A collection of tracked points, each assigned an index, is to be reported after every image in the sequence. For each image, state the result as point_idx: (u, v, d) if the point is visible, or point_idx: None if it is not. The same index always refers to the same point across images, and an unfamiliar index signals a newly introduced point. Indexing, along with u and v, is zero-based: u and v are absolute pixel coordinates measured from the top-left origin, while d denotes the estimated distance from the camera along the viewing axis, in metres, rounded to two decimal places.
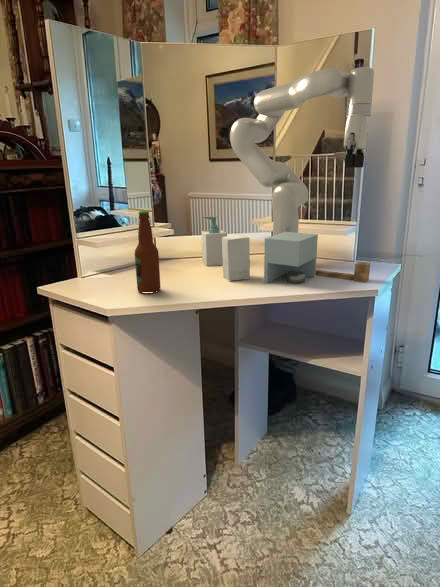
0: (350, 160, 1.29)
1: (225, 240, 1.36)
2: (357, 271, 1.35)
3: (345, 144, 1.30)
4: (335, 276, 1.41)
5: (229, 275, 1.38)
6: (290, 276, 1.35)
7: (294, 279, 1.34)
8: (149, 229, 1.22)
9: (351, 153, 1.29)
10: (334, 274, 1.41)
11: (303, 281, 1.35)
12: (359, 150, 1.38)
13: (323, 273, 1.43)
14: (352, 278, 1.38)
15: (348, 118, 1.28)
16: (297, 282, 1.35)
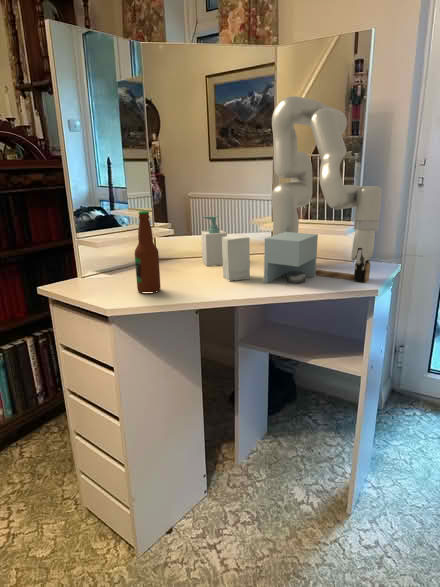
0: (359, 275, 1.34)
1: (225, 240, 1.36)
2: None
3: (353, 257, 1.32)
4: (335, 276, 1.41)
5: (229, 275, 1.38)
6: (290, 276, 1.35)
7: (294, 279, 1.34)
8: (149, 229, 1.22)
9: (361, 270, 1.33)
10: (334, 274, 1.41)
11: (303, 281, 1.35)
12: None
13: (323, 273, 1.43)
14: (352, 278, 1.38)
15: (356, 233, 1.30)
16: (297, 282, 1.35)
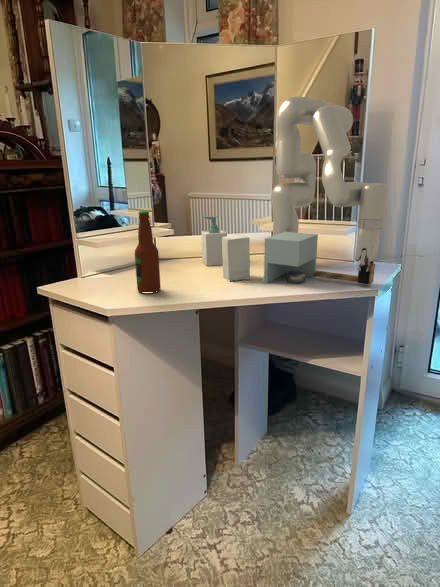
0: (363, 277, 1.27)
1: (225, 240, 1.36)
2: None
3: (357, 258, 1.25)
4: (338, 277, 1.34)
5: (229, 275, 1.38)
6: (290, 276, 1.35)
7: (294, 279, 1.34)
8: (149, 229, 1.22)
9: (365, 271, 1.27)
10: (337, 275, 1.34)
11: (303, 281, 1.35)
12: None
13: (325, 274, 1.36)
14: (356, 280, 1.31)
15: (360, 233, 1.23)
16: (297, 282, 1.35)
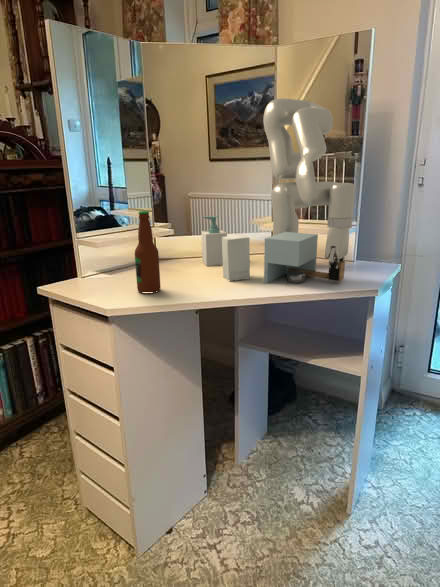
0: (333, 274, 1.31)
1: (225, 240, 1.36)
2: None
3: (326, 255, 1.29)
4: (310, 274, 1.38)
5: (229, 275, 1.38)
6: (290, 276, 1.35)
7: (294, 279, 1.34)
8: (149, 229, 1.22)
9: (334, 268, 1.31)
10: (309, 272, 1.38)
11: (303, 281, 1.35)
12: (339, 260, 1.36)
13: None
14: (327, 277, 1.35)
15: (329, 231, 1.27)
16: (297, 282, 1.35)
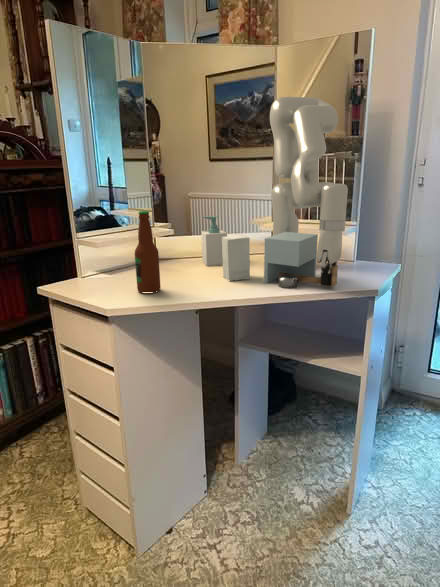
0: (326, 279, 1.25)
1: (225, 240, 1.36)
2: None
3: (318, 260, 1.23)
4: (301, 279, 1.32)
5: (229, 275, 1.38)
6: (282, 280, 1.30)
7: (285, 283, 1.29)
8: (149, 229, 1.22)
9: (327, 273, 1.25)
10: (300, 277, 1.32)
11: (295, 285, 1.30)
12: (332, 264, 1.30)
13: None
14: (319, 282, 1.29)
15: (321, 234, 1.21)
16: (288, 286, 1.29)
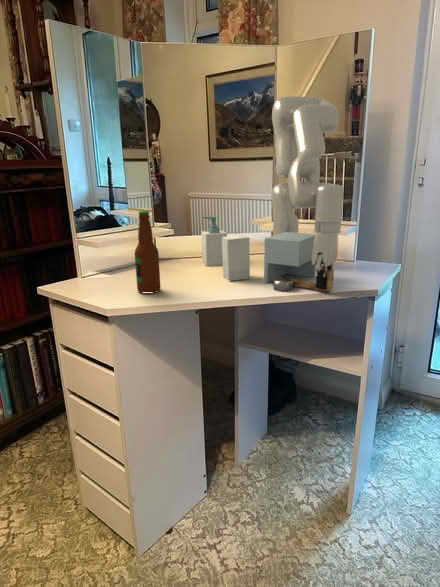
0: (321, 282, 1.22)
1: (225, 240, 1.36)
2: None
3: (313, 263, 1.20)
4: (297, 284, 1.29)
5: (229, 275, 1.38)
6: (277, 284, 1.27)
7: (280, 287, 1.26)
8: (149, 229, 1.22)
9: (322, 276, 1.22)
10: (296, 282, 1.29)
11: (290, 289, 1.27)
12: None
13: None
14: (315, 286, 1.26)
15: (316, 236, 1.18)
16: (284, 290, 1.26)
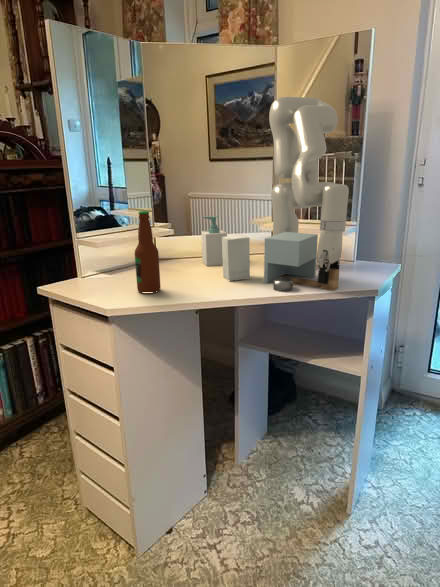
0: (323, 277, 1.24)
1: (225, 240, 1.36)
2: None
3: (318, 260, 1.25)
4: (303, 283, 1.33)
5: (229, 275, 1.38)
6: (277, 284, 1.27)
7: (280, 287, 1.26)
8: (149, 229, 1.22)
9: (324, 271, 1.23)
10: (302, 281, 1.33)
11: (290, 289, 1.27)
12: None
13: None
14: (320, 285, 1.30)
15: (321, 234, 1.22)
16: (284, 290, 1.26)
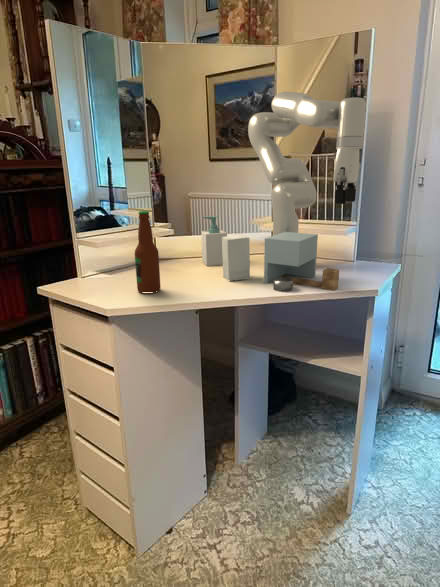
0: (340, 196, 1.20)
1: (225, 240, 1.36)
2: (324, 278, 1.27)
3: (335, 179, 1.21)
4: (303, 283, 1.33)
5: (229, 275, 1.38)
6: (277, 284, 1.27)
7: (280, 287, 1.26)
8: (149, 229, 1.22)
9: (341, 189, 1.19)
10: (302, 281, 1.33)
11: (290, 289, 1.27)
12: (350, 183, 1.29)
13: None
14: (320, 285, 1.30)
15: (338, 151, 1.19)
16: (284, 290, 1.26)
